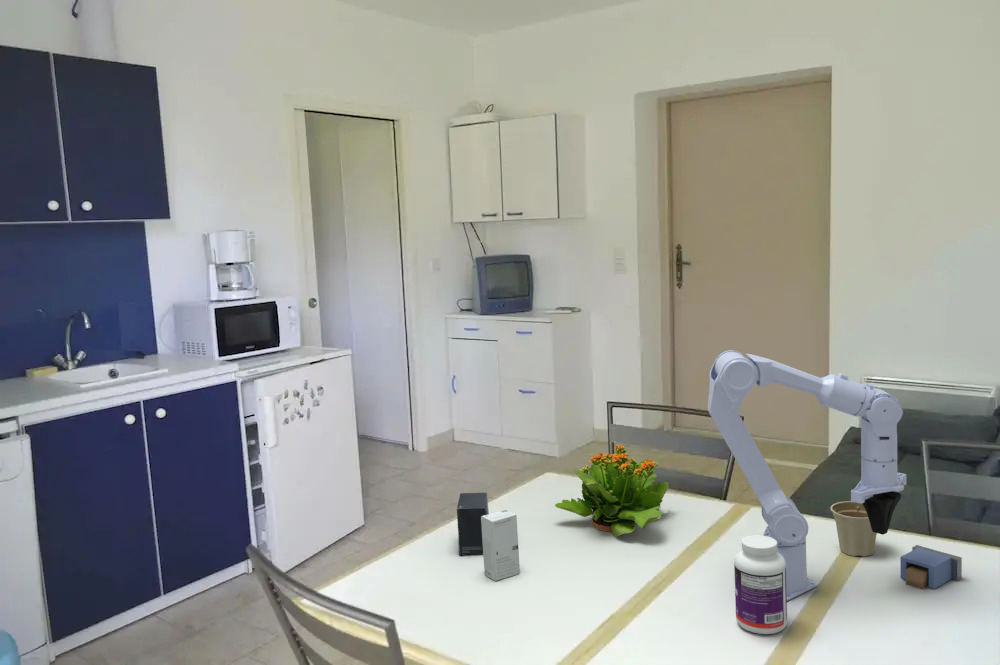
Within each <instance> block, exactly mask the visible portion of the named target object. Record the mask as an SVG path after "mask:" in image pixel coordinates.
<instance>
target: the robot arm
mask: <svg viewBox="0 0 1000 665" xmlns="http://www.w3.org/2000/svg"><path fill="white" fill-rule="evenodd" d="M745 354H746V355H747V357H748V358H749V359H748V358H747V357H746V355H744V354H743V353H742V352H740V351H738V350H734V349H732V350H725V351H723V352H721V353H720V354H718V356H716V358H715V360H714V361H713V364H712V366H711V368H710V371H709V384H708V385H709V386H708V387H709V388H708V399H707V412H708V413H709V416H710V417H711V419H712V421H713V422H714V424H715V426H716V428H717V429H718V431H719V432H720V435H721V436H722V438H723V439H724V440H723V441H725V443H726V445H727V447H728V449H729V451H730V452H731V453H732V454H731V455H732V456H733V457H734V459H735V461H736V462H737V465H738V466H739V468H740V469H741V472H742V473H743V475H744V476H745V478H746V480H747V482H748V483H749V485H750V487H751V488H752V491H753V492H754V495H755V496H756V498H757V499H758V501H759V503H760V506H761V516H762V518H763V520H764V522H765V523H766V525H767V526H766V527H765V529H764V532H763V536H768V537H771V538H773V539H775V540H776V541H777V553H779V554H780V555H781V556H782V557H783V558H784V560H785V562H786V595H787V601H790V600H792V599H794V598H796V597H798V596H799V595H802V594H804V593H805V592H808V591H809V590H812V589H813V588H815V587H817V586H818V582H816V581H813V580H810V579H808V578H807V577H808V576H807V574H808V573H807V571H808V570H807V566H808V565H807V536H808V534H809V524H808V521H807V519H806V517H804V515H802V514H801V512H800V511H799V509H798V507H797V505H796V504H795V502H794V501H793V500H792V499H791V498H790V497H789V496H786V494H785V492H784V490H783V489H782V488H781V486H780V484H779V483H778V481H777V479H776V477H775V475H774V473H773V471H772V470H771V468H770V466H769V465H768V463H767V461H766V459H765V458H764V456H763V454H762V452H761V450H760V449H759V446H758V445H757V443H756V442H755V440H754V438H753V436H752V434H751V433H750V431H749V430H748V427H747V426H746V425H745V424H746V423H744V420H743V419H742V418H741V416H740V414H739V411H740V408H741V406H742V404H743V401H744V399H745V398H746V396H747V395H748V394H749V393H750V392H751V391H752V390H753V388H754V387H755V386H756V385H757V386H758V387H760V388H762V387H764V386H768V385H771V384H772V383H773V384H778V385H782V386H785V387H787V388H792V389H795V390H798V391H800V392H801V391H802V392H804V393H808V394H811V395H814V396H815V397H816V399H817V400H818V401H817V402H818V403H819V404H820V405H821V406H824V407H827V408H830V409H832V410H836V411H838V412H842V413H845V414H847V415H850V416H853V417H861V418H860V420H861V421H860V422H861V425H860V426H861V428H860V430H861V431H860V456H861V457H860V461H861V463H860V464H861V468H860V470H861V471H860V472H861V474H860V475H861V478H860V480H859V482H858V483H857V485H856V486H855V487H854V488H853V489H851V490H850V501H853V502H857V503H861V504H863V506H864V508H865V510H866V512H867V515H868V518H869V521H870V525H871V528H872V531H873V532H875V533H877V535H878V534H879V535H886V534H887V533H888V531H889V529H890V528H889V527H890V524H891V520H892V516H893V513H894V511H895V509H896V507H897V505H898V504H899V502H900V500H901V499H902V497H901V496H902V494H901V493H899V492H902V491H903V490H904V489H905V486H906V485H907V474H906V473H902V472H898V431H897V430H898V423H899V422H900V421H901V419H902V417H903V414H904V410H903V409H902V408H901V403H900V401H899V400H898V399H897V398H896V397H895V396H894V395H892V394H891V393H888V392H886V391H884V390H883V389H880V388H879V387H877V386H875V385H873V384H872V383H866V385H865V384H862V383H861V382H858V381H857V382H856V381H854V380H851V379H848V378H849V376H848V375H846V374H843V373H841V372H838V373H837V375H836V374H833V373H830V374H828V375H826V376H823V377H819V376H816V375H814V374H811V373H808V372H806V371H803V370H800V369H797V368H794V367H792V366H789V365H787V364H784V363H782V362H779V361H776V360H773V359H770V358H767V357H762V356H760V355H756V354H750V353H745Z"/></svg>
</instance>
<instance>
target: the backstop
mask: <svg viewBox="0 0 1000 665" xmlns="http://www.w3.org/2000/svg"><path fill="white" fill-rule="evenodd" d="M916 548H920V549H924V550H927V551H931V552H934V553H938V554H942V555H945V556H949V557H951V579H950V580H951V581H955V582H959V581H961V580H962V577H963V576H962V571H963V570H962V569H963V567H962V566H963V563H962V562H963V561H962V559H963V558H962V557H960V556H958V555H954V554H950V553H947V552H944V551H943V552H942V551H940V550H936V549H932V548H929V547H926V546H922V545H919V544H916V545H913V547H912V548H911V551H913V550H914V549H916Z"/></svg>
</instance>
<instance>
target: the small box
mask: <svg viewBox="0 0 1000 665" xmlns="http://www.w3.org/2000/svg"><path fill="white" fill-rule="evenodd" d="M488 499H489V498H488V492H460V493H459V498H458V502H457V506H456V517H457V518H456V520H457V521H456V522H457V531H458V532H457V534H458V535H457V536H458V553H459V554H460V555H459V554H458V555H459V556H462V555H461V554H477V555H483V542H482V524H481V516H484V515H488V514H490V512H489V502H488Z"/></svg>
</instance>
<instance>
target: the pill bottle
mask: <svg viewBox="0 0 1000 665" xmlns="http://www.w3.org/2000/svg"><path fill="white" fill-rule="evenodd" d="M733 560H734V563H733V567H734V592H735V594H734V596H735V600H734V602H735V618H736V621H737V624H738V625H739V626H740V627H741V628H742V629H744V630H746V631H747V632H750V633H754V634H759V635H774V634H777V633H779V632H782V630H784V629H785V628H786V626H787V625H788V603H787V595H786V562H785V560H784V558H783V557H782V556H781V555H780V554H779V553H777V541H776V540H775V539H773V538H771V537H768V536H764V535H762V534H760V535H759V534H753V535H747V536H745V537H743V538H742V539H741V550H740V551H739V552H737V554H736V555H735V556H734V559H733Z"/></svg>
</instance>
